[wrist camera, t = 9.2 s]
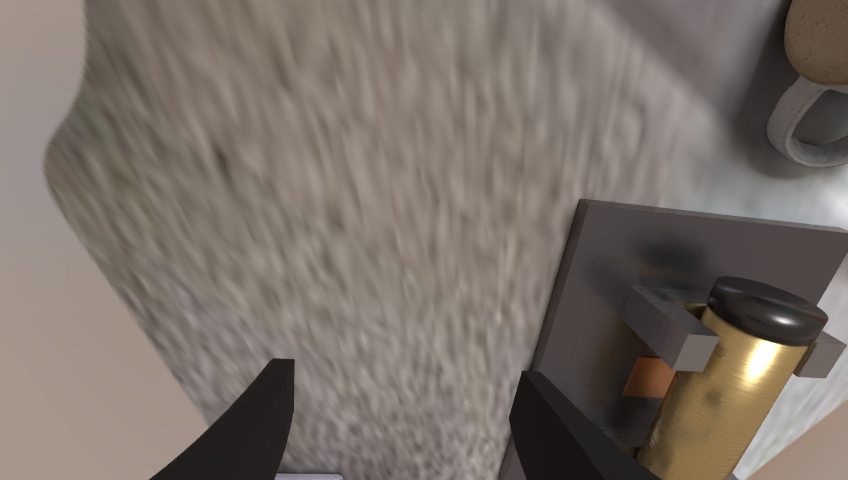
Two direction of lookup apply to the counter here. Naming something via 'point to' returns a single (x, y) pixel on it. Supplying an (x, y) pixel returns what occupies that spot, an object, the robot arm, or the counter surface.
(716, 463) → the brass tube
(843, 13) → the ceramic mug
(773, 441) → the counter surface
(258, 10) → the counter surface
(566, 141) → the counter surface
